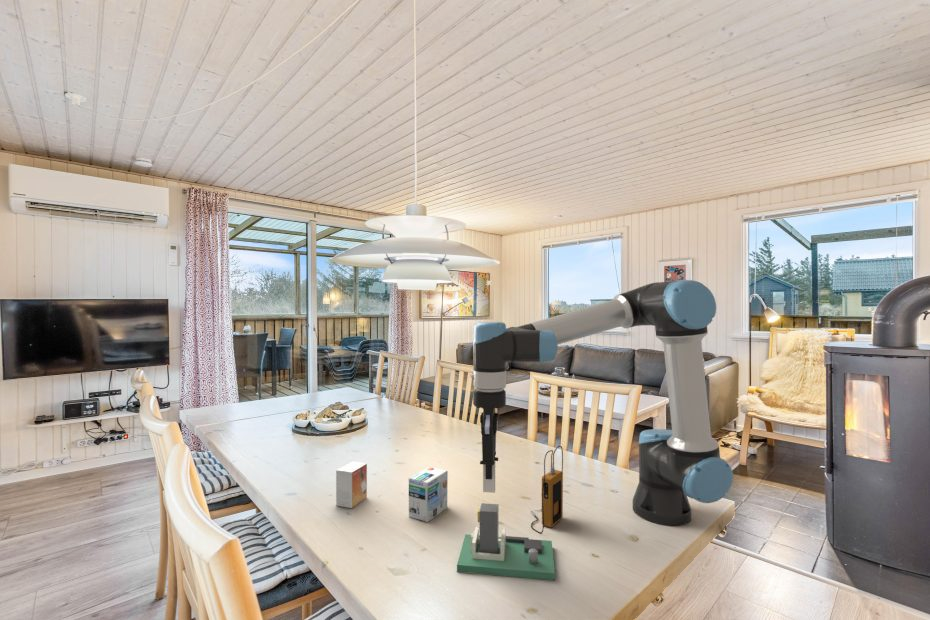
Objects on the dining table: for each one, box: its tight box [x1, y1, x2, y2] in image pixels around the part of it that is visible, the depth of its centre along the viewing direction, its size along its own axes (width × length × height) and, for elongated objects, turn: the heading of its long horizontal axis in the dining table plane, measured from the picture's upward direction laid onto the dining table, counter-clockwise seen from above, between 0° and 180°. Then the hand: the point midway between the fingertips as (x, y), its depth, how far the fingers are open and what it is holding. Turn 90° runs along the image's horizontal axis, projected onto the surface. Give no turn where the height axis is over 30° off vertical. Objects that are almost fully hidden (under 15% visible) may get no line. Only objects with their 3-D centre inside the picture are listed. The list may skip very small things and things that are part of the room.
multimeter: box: [529, 445, 564, 534], centre depth 119 cm, size 15×10×20 cm
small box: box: [335, 461, 368, 509], centre depth 130 cm, size 8×6×10 cm
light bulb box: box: [408, 466, 449, 523], centre depth 123 cm, size 11×7×11 cm, turn 151°
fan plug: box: [477, 502, 500, 554], centre depth 101 cm, size 5×4×10 cm
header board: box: [456, 526, 556, 581], centre depth 100 cm, size 21×13×5 cm, turn 82°
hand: (489, 490), depth 101 cm, fingers closed
